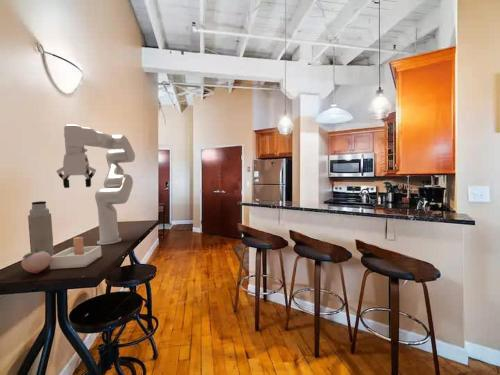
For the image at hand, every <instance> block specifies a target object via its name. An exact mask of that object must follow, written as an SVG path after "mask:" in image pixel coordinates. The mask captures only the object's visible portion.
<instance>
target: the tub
mask: <svg viewBox="0 0 500 375" xmlns="http://www.w3.org/2000/svg"><path fill="white" fill-rule="evenodd" d="M83 247H84V255H74V246H73V247H68V248H66V249H63V250H61V251H59V252H58V253H54V255H53V256H51V261H50V265H49V269H50V270H57V269H58V270H59V269H71V268H73V269H74V268H85V267H87V266H89V265H90V264H92V263H93V262H95V261H96V260H98V259H99V258H101V257H102V254H103V253H102V245H93V246H92V245H91V246H83Z"/></svg>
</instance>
